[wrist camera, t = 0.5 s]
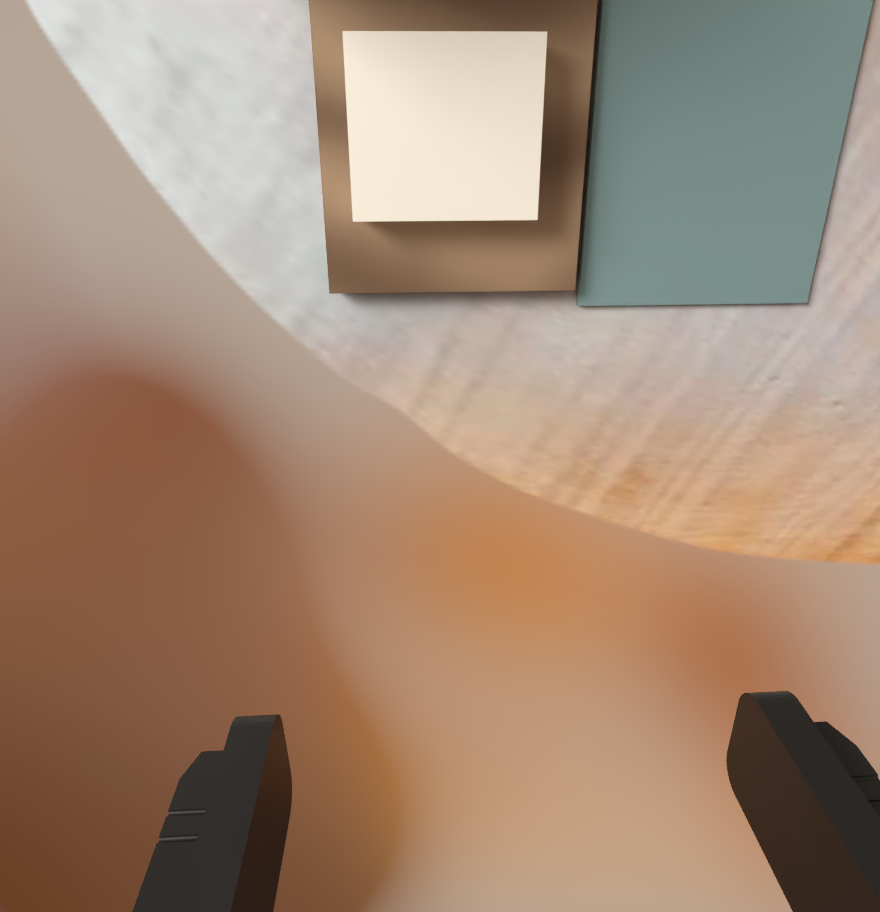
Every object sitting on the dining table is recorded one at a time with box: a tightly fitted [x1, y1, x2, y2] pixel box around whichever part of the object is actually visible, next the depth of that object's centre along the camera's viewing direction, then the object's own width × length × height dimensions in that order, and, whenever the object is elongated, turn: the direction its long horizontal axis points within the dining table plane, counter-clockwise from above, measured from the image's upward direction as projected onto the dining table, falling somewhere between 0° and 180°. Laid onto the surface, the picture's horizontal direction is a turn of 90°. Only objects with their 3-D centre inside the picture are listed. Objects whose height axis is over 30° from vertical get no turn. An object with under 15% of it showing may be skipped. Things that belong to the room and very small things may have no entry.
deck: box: [309, 0, 597, 293], centre depth 31 cm, size 14×12×2 cm
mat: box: [577, 0, 873, 306], centre depth 32 cm, size 16×12×1 cm
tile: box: [342, 31, 547, 222], centre depth 29 cm, size 7×8×2 cm
